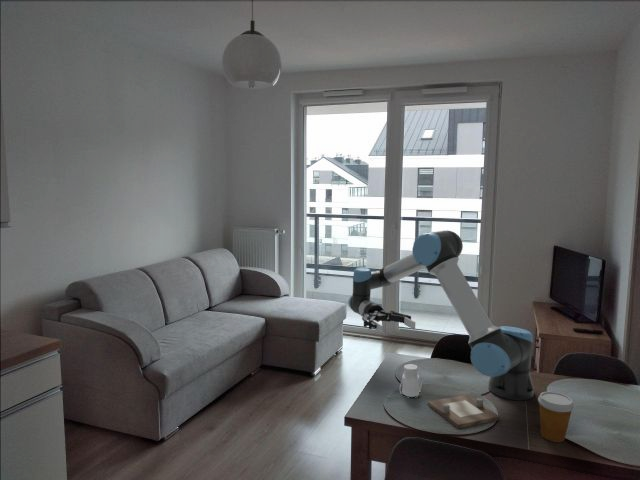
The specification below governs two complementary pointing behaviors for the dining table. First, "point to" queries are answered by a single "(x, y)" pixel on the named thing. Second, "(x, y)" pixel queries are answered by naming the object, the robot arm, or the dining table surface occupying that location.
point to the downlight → (410, 380)
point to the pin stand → (464, 411)
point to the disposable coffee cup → (554, 415)
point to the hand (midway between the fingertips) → (398, 327)
